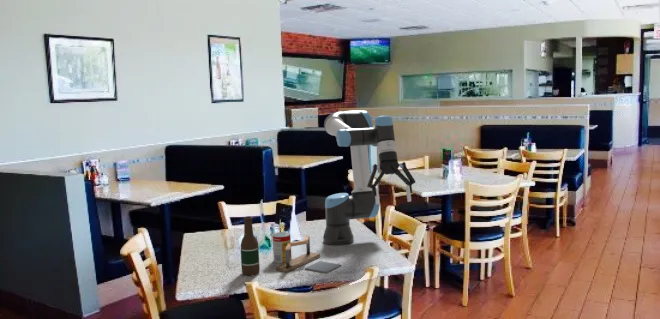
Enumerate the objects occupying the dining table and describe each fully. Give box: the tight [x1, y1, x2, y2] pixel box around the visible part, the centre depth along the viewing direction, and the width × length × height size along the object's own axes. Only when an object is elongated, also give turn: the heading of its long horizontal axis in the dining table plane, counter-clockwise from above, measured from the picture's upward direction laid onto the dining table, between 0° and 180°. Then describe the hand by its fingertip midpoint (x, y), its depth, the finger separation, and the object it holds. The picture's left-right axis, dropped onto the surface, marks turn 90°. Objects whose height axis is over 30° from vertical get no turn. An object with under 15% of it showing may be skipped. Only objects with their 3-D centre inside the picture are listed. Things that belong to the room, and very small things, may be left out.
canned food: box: [272, 231, 293, 264], centre depth 254 cm, size 8×8×12 cm
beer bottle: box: [240, 215, 261, 277], centre depth 237 cm, size 8×8×24 cm
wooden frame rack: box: [275, 235, 321, 273], centre depth 249 cm, size 24×6×10 cm, turn 146°
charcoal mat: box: [304, 260, 342, 274], centre depth 242 cm, size 11×11×1 cm
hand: (393, 202), depth 235 cm, fingers open, 13 cm apart
